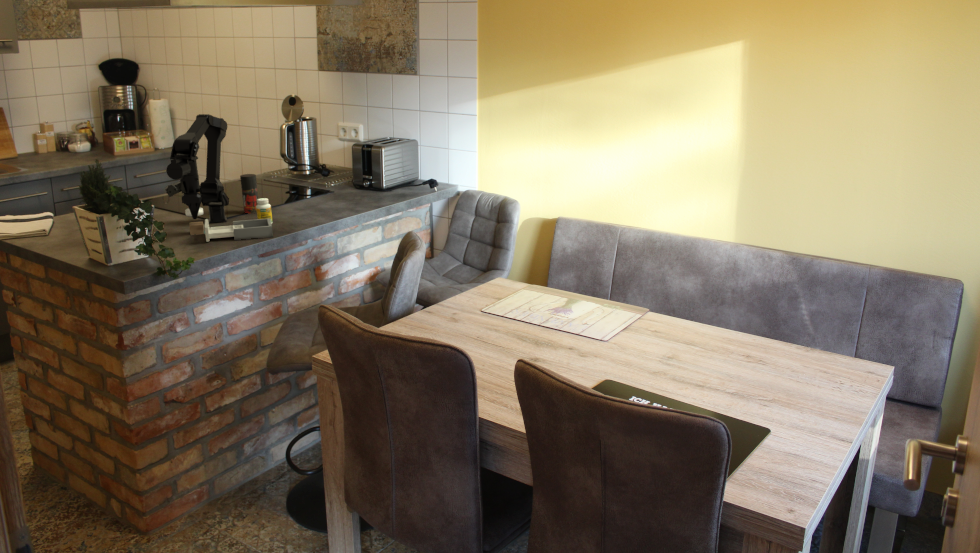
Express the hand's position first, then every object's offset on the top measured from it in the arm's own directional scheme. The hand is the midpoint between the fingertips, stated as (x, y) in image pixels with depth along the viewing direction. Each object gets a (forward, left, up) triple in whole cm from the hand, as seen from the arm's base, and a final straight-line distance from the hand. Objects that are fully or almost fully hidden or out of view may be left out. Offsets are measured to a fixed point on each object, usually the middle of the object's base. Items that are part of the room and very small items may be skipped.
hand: (195, 217), depth 262 cm
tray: (+9, +9, -5) cm, 14 cm away
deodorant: (-26, +20, -6) cm, 34 cm away
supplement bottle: (-5, +24, -6) cm, 25 cm away
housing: (+9, +19, -6) cm, 22 cm away
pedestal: (0, 0, -6) cm, 6 cm away
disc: (0, 0, +1) cm, 1 cm away
